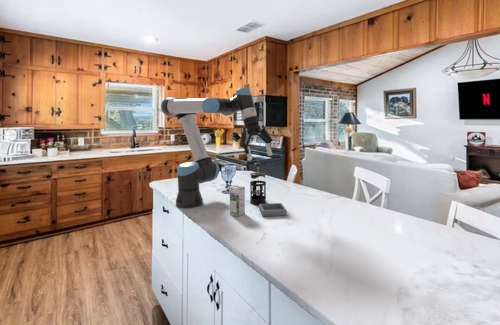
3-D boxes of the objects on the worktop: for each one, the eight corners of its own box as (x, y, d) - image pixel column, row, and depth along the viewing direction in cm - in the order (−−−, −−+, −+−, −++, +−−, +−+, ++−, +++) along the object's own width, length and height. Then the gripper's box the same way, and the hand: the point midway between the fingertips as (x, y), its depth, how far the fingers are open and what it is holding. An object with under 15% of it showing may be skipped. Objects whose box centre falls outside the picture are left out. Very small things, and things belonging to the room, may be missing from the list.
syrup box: (229, 214, 145) (228, 186, 142) (236, 211, 149) (236, 184, 147) (237, 216, 141) (237, 188, 139) (245, 213, 146) (245, 185, 143)
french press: (269, 204, 161) (269, 163, 158) (254, 206, 158) (254, 165, 155) (261, 198, 172) (260, 161, 169) (246, 200, 169) (246, 162, 165)
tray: (262, 216, 140) (262, 211, 140) (259, 209, 152) (259, 203, 152) (286, 215, 142) (286, 210, 141) (281, 208, 153) (281, 203, 153)
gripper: (234, 117, 136) (245, 160, 135) (272, 113, 151) (282, 152, 150) (226, 122, 141) (237, 163, 141) (263, 118, 157) (273, 155, 156)
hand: (260, 157), depth 145 cm, fingers open, 13 cm apart
